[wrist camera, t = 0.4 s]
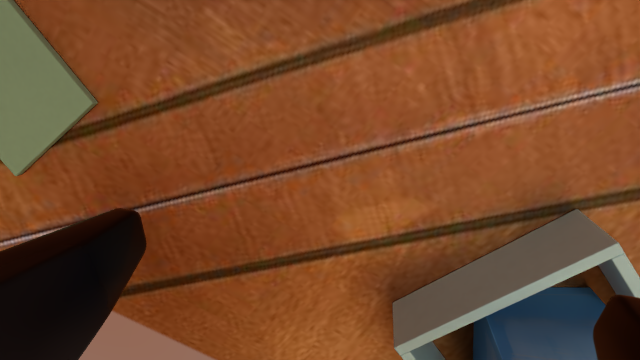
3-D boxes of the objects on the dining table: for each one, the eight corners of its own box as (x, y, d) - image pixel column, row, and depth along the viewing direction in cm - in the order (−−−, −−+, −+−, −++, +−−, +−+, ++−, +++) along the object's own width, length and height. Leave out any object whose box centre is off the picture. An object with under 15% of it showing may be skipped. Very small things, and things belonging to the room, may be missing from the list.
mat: (22, 174, 26) (15, 176, 25) (-70, 71, 24) (-79, 72, 24) (98, 102, 23) (92, 103, 23) (1, -16, 22) (-7, -17, 22)
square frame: (488, 430, 26) (505, 493, 23) (392, 302, 25) (393, 347, 21) (672, 363, 23) (728, 424, 19) (576, 208, 21) (618, 242, 17)
